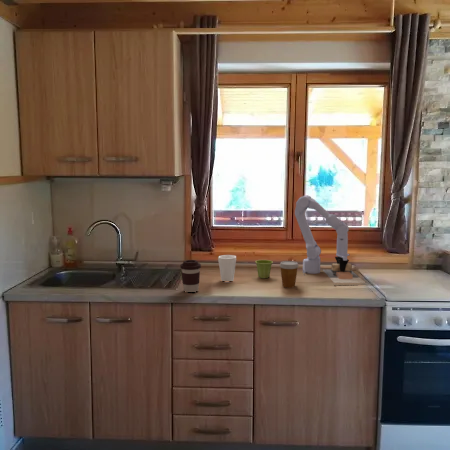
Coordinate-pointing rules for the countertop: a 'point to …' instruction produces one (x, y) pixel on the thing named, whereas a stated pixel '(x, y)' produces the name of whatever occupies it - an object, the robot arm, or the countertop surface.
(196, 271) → the coffee cup
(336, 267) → the block
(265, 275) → the plant pot
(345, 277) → the tile
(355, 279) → the board
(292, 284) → the disposable coffee cup
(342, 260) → the robot arm
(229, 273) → the foam cup
